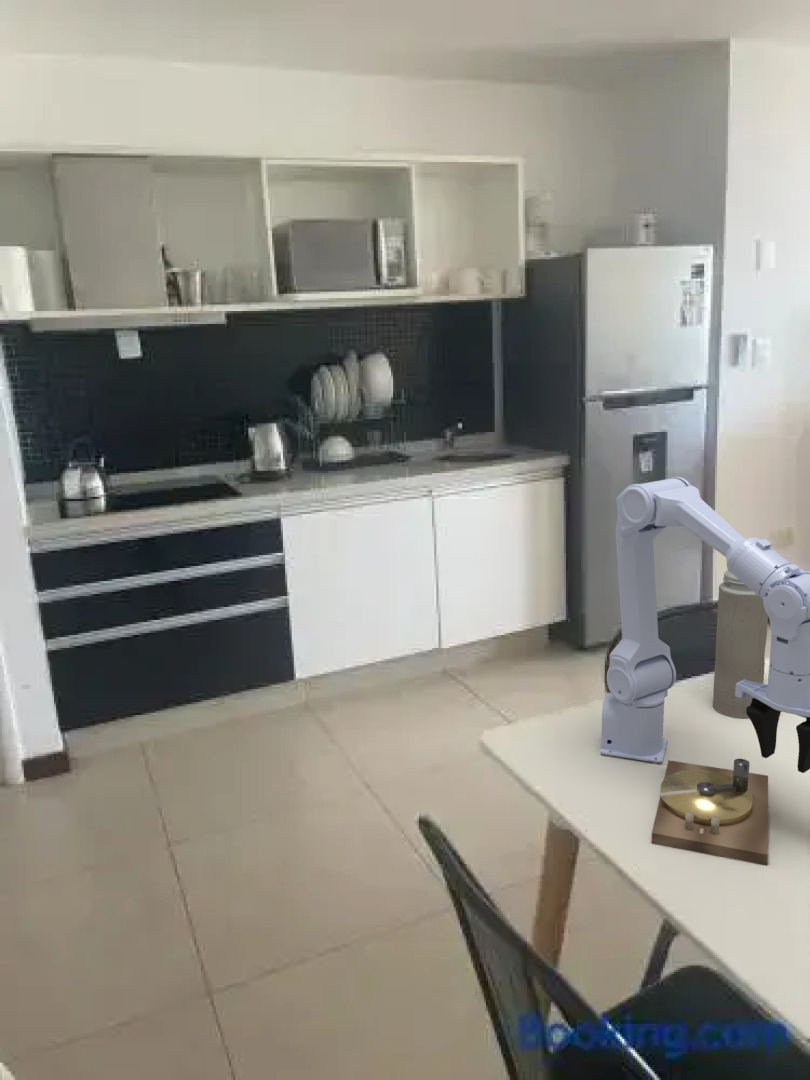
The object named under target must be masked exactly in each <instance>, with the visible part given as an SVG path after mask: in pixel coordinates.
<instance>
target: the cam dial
mask: <svg viewBox="0 0 810 1080" xmlns="http://www.w3.org/2000/svg"><path fill="white" fill-rule="evenodd" d="M750 766H751V764H750V761H749V760H747V759H745V758H735V759H734V760H733V769H732V770H733V778H732V777H730V776H727V775H724V774H721V773H717V772H713V771H707V770H683V771H678V772H675V773H672V774H670V775H669V776H667V777H666V778H665V777H664V778H665V779H664V778H663V780H662V781H661V783H660V793H659V797H660V796H661V800H662V803H663V804H664V806H665V807H666V808H667V809H668V810H670V811H671V812H672V813H674V814H675V815H677V816H679V817H681V818H683V819H685V818H686V813H687V812H691V813H693V814H694V819H693V822H695V823H699V824H704V825H711V818H712V817H718V818H719V819H720V821H719V826H725V825H732V824H736V823H739V822H742V821H743V820H745V819H746V818H748V817H749V815H750V814H751V812H752V803H753V797H752V794H751V792H750V790H749V789H748V780H749V773H750Z"/></svg>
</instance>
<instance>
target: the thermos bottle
mask: <svg viewBox="0 0 810 1080" xmlns="http://www.w3.org/2000/svg"><path fill="white" fill-rule="evenodd" d="M722 581H723V582H721V583H720V584H719V585H718V597H717V598H718V599H717V617H716V619H717V620H716V639H715V659H714V661H715V663H714V672H713V673H714V676H713V691H712V692H713V695H712V707H713V709H714V710H715V711H716V712H717V713H719V714H722V715H724V716H726V717H730V718H736V719H750V718H749V717H748V715H747V714H746V708H747V707H748V706H750V705H751V703H752V699H749V698H746V697H744V698H739V697H736V696H735V690H736V683H738V682H740V681H742V680H748V681H751V682H756V683H761V684H764V681H765V680H764V677H765V656H766V655H765V653H766V651H765V650H766V644H767V637H768V622H769V616H768V615H767V613H766V611H765V608H764V605H763V599H762V598H761V597H759V596H758V595H757V594H756V593H755V592H753V591H752V590H751V589H750V588H749V587H747V586H746V585H745V584H744V583H743V582H742V581H740V580H739V579H738V578H737V577H736V576H734V575H733V574H732V573H731V572H730V571H729V570H728V569H727V570H725V571H724V574H723V578H722Z"/></svg>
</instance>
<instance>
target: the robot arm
mask: <svg viewBox="0 0 810 1080" xmlns="http://www.w3.org/2000/svg"><path fill="white" fill-rule="evenodd" d="M615 501H616V517H617V520H616V524H615V546H616V561H617V562H616V563H617V576H618V577H617V578H618V579H617V580H618V594H619V595H618V597H619V608H620V610H619V611H620V625H621V627H620V628H621V640H620V641H619V642H618V644H617V645H616V646H615V648H613V649H612V651H611V652H610V654H609V664H608V665H609V666H608V670H607V673H606V684H607V688H608V689H609V692H605V695H604V697H603V698H604V699H603V702H602V710H601V738H600V741H601V744H600V745H601V746H600V748H601V749H600V754H601V755H604V756H609V757H610V756H611V757H618V758H623V759H631V760H637V761H642V762H643V761H644V762H649V763H655V764H656V763H657V764H662V763H663V760H664V757H665V753H666V749H667V748H666V747H667V745H668V738H667V737H664V720H665V719H664V718H665V717H664V715H665V698H666V697H668V694H669V693H668V692H669V691H668V690H670V689H671V688H673V687H674V685H675V684H676V681H677V671H676V668H675V664H674V662H673V659H672V657H671V647H670V646H669V645H668V644H666V643H665V642H664V641H662V640H661V639H660V638H659V625H658V623H659V621H658V608H657V607H658V606H657V594H656V593H657V587H656V570H655V567H656V566H655V554H654V553H655V552H654V539H656V538H657V537H658V536H659V535H660V534H661V533H662V531H664V530H665V529H666V528H667V527H683V528H684V529H686V530H687V531H689V532H690V533H692V534H693V536H696V537H697V538H699V539H700V540H701V541H703V542H704V543H705V544H707V545H708V546H710V548H712V549H714V550H715V551H717V552H718V553H720V554H721V555H722V556H723V557H725V558H726V568H727V570H729V571H730V572H731V573H732V574H733V575H734V576H736V577H737V578H738V579H739V580H740V581H742V582H743V583H744V584H745V585H746V586H747V587H749V588H750V589H751V590H752V591H753V592H755V593H756V594H757V595H758V596H759V597H761V598H762V599H763V605H764V608H765V611H766V613H767V615H768V620H769V630H770V631H771V633H770V634H771V636H770V649H769V665H768V677H767V684H766V683H763V684H761V683H756V682H751V681H748V680H742V681H740V682H738V683H736V690H735V696H736V697H739V698H744V697H746V698H749V699H752V703H751V705H750V706H748V707H747V708H746V714H747V715H748V717H749V718H748V719H749V720H750V721H751V724H752V725H753V728H754V731H755V733H756V737H757V740H758V745H759V749H760V755H761V757H762V758H764V759H768V758H769V757H771V756H773V755H774V754H775V752H776V749H777V748H776V746H777V737H778V736H777V733H778V726H779V720H780V716H781V713H786V714H790V715H796V716H799V717H800V718H804V719H805V720H804V721H802V722H801V723H799V724H797V725H796V727H795V729H796V735H797V740H798V756H797V771H798V772H800V773H801V774H804V773H807V771H809V770H810V570H808V571H804V570H803V569H802V568H800V566H798V565H796V564H795V563H791V562H790V561H788V559H786V558H784V556H782V555H781V554H779V552H777V551H776V550H774V549H773V548H772V543H771V542H770V541H769V540H767V539H766V538H764V539H761V538H759V537H747V538H745V537H744V536H743V535H741V534H740V533H739V532H738V531H737V530H736V529H735V528H734V527H733V526H732V525H730V523H728V522H727V520H725V519H724V518H723V517H722V516H721V515H720V514H718V512H716V511H715V510H714V508H712V507H711V506H710V505H708V503H707V502H705V501H704V500H703V499H702V498H701V493H700V490H699V488H697V487H695V486H694V485H691V484H690V482H689V481H688V480H687V479H686V478H683V477H681V476H680V477H679V476H673V477H669V478H665V479H660V480H655V481H649V482H644V483H634V484H633V483H632V484H630V485H628V486H626V487H625V488H624V489H623V490H622V491H621V492H620V493H619V495H618V496H617V497H616V500H615Z"/></svg>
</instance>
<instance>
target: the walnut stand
mask: <svg viewBox="0 0 810 1080" xmlns="http://www.w3.org/2000/svg"><path fill="white" fill-rule="evenodd" d="M666 764H667V765H666V769H665V774H664V778H663V780H664V779H665V778H666V777H667V776H669V775H670V774H672V773H675V772H678V771H683V770H707V771H713V772H717V773H721V774H724V775H727V776H730V777H732V778H733V770H734V769H727V768H721V767H715V766H708V765H701V764H695V763H688V762H681V761H675V760H667V763H666ZM748 789H749V790H750V792H751V794H752V797H753V803H752V812H751V814H750V815H749V817H748V818H746V819H745V820H743V821H742V822H739V823H736V824H732V825H725V826H719V821H720V819H719V818H718V817H712V818H711V825H704V824H699V823H695V822H693V819H694V814H693V813H691V812H687V813H686V818H685V819H683V818H681V817H679V816H677V815H675V814H674V813H672V812H671V811H670V810H668V809H667V808H666V807H665V806H664V804H663V803H662V800H661V796H660V795H659V800H658V805H657V810H656V814H655V818H654V822H653V828H652V831H651V844H656V845H661V846H666V847H671V848H675V849H676V848H677V849H681V850H686V851H693V852H697V853H703V854H707V855H713V856H718V857H723V858H729V859H734V860H738V861H744V862H749V863H753V864H760V865H764V866H768V859H769V856H768V855H769V775H767V774H766V775H765V774H760V773H754V772H753V773H752V772H749V780H748Z"/></svg>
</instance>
